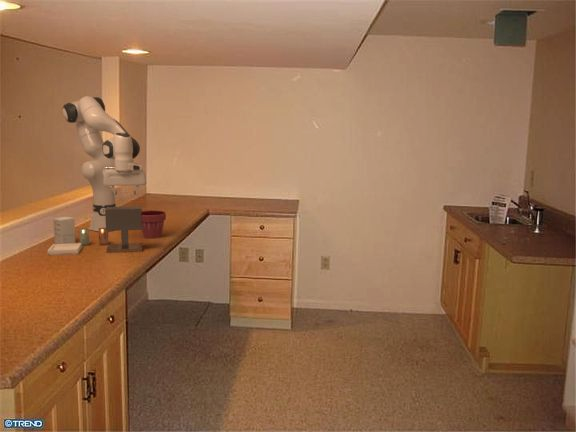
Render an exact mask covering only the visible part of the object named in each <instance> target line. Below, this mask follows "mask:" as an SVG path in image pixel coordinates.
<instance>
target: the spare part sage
mask: <svg viewBox="0 0 576 432" xmlns="http://www.w3.org/2000/svg"><path fill="white" fill-rule="evenodd" d="M78 236H79V238H78V239H79V243H82V247H87V246H90V230H89V229H88V227H83V228H82V227H81V228H78Z"/></svg>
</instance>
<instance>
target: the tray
mask: <svg viewBox="0 0 576 432" xmlns="http://www.w3.org/2000/svg"><path fill="white" fill-rule="evenodd" d="M82 249H83V246H82V243H80V242H78V243H77V242H76V243H71V244H57V243H53V244H52V245H51V246H50V247H49V248H48V249H47V256H64V255H65V256H66V255H78V254H80V252H81V250H82Z"/></svg>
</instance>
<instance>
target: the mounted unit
mask: <svg viewBox="0 0 576 432" xmlns="http://www.w3.org/2000/svg"><path fill="white" fill-rule="evenodd" d="M142 210H143V207H142V206H141V205H138V206H137V205H134V206H133V205H132V206H129V205H127V206H116V207H106V209H105V218H106V231H108V232H112V231H113V232H114V231H116V232H117V231H120V236H121V238H120V239H121V243H109V244H108V245H107V248H106V254H108V253H109V254H115V253H139V252H140V253H141V251H142V252H143V250H142V249H144V243H143V242H129V231H142Z"/></svg>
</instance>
